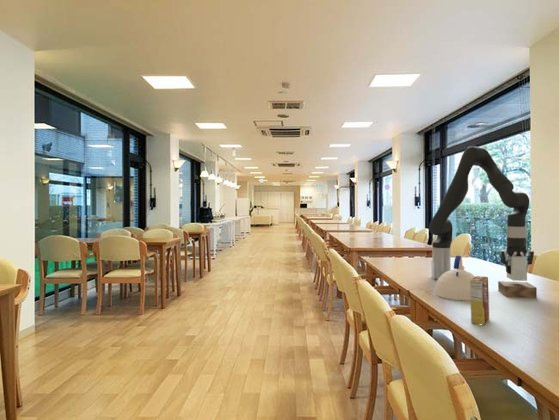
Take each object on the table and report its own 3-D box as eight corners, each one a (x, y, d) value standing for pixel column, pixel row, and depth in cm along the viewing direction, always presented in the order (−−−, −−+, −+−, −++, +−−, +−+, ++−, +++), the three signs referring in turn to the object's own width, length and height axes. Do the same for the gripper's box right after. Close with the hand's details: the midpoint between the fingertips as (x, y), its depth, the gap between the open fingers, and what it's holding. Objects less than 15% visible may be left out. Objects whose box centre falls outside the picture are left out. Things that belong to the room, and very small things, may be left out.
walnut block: (505, 297, 169) (505, 286, 169) (498, 291, 180) (498, 281, 180) (536, 299, 165) (536, 287, 165) (527, 293, 177) (527, 282, 177)
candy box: (476, 317, 139) (476, 275, 139) (489, 319, 136) (489, 276, 136) (469, 323, 132) (469, 279, 132) (483, 325, 129) (483, 280, 129)
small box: (527, 281, 168) (527, 257, 168) (513, 280, 170) (513, 257, 169) (519, 277, 176) (519, 255, 176) (506, 277, 177) (506, 254, 177)
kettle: (485, 293, 177) (484, 254, 176) (482, 303, 159) (482, 259, 159) (438, 288, 187) (437, 251, 187) (431, 297, 169) (430, 257, 169)
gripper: (529, 235, 175) (529, 272, 176) (495, 235, 177) (496, 272, 178) (538, 237, 168) (538, 275, 168) (502, 237, 170) (503, 275, 170)
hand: (516, 273), depth 173 cm, fingers closed on small box, 5 cm apart
